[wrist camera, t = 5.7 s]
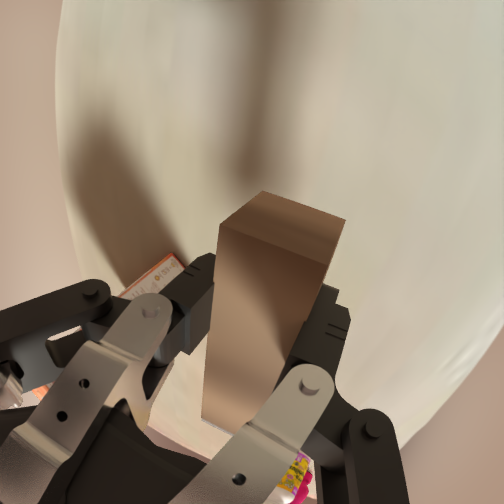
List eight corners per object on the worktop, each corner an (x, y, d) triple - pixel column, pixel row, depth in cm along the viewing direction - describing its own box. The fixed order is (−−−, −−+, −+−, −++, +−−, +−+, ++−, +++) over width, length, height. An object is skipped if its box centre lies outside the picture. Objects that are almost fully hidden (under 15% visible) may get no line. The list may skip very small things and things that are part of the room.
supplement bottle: (318, 460, 44) (293, 519, 34) (288, 460, 48) (262, 513, 38) (301, 443, 43) (272, 506, 33) (270, 443, 47) (240, 500, 37)
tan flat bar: (236, 182, 11) (188, 212, 8) (373, 230, 9) (365, 280, 7) (206, 412, 21) (187, 442, 18) (266, 440, 19) (249, 472, 17)
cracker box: (156, 326, 43) (60, 423, 26) (129, 295, 42) (26, 385, 25) (207, 290, 34) (78, 427, 18) (173, 249, 34) (26, 369, 17)
